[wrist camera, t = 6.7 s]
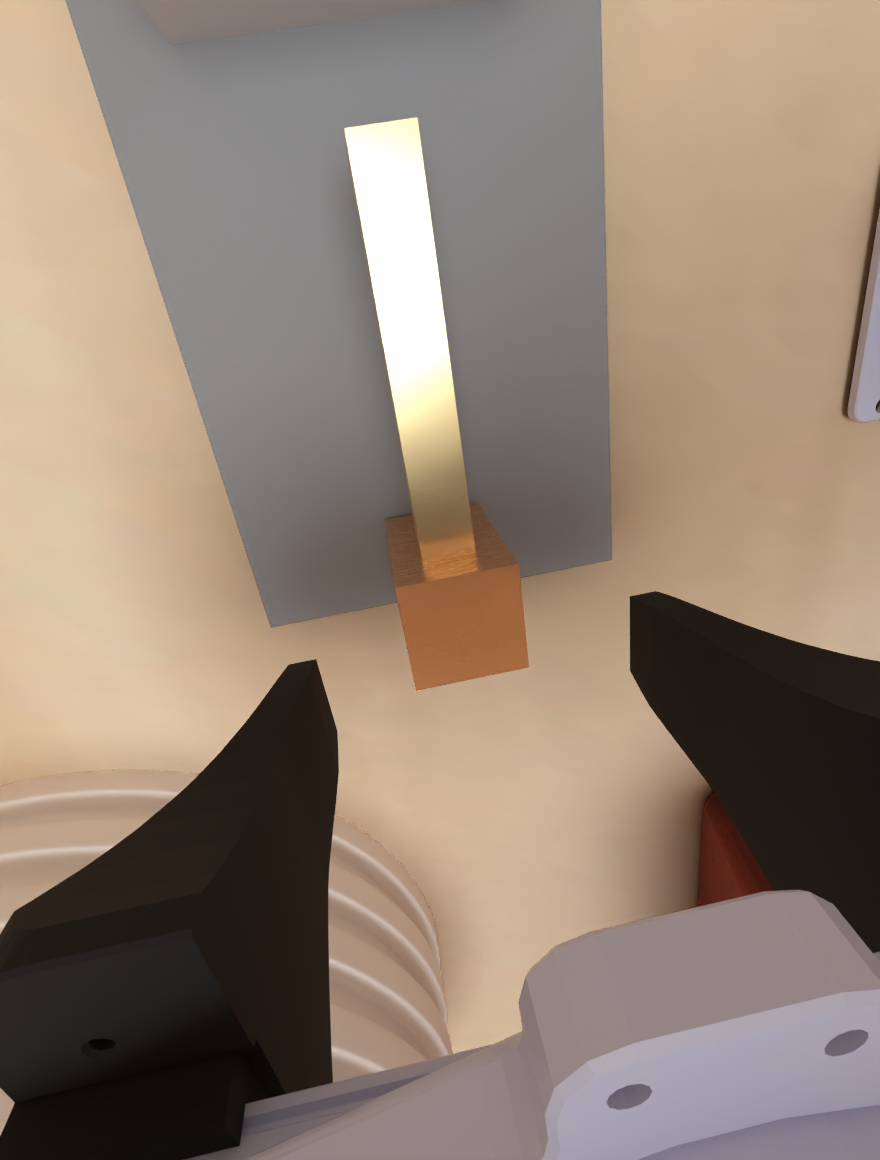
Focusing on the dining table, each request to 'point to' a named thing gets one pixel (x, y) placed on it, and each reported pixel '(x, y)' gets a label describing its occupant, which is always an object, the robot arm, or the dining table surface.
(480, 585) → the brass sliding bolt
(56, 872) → the plate stack
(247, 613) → the dining table surface
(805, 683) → the robot arm
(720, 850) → the plant pot
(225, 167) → the block
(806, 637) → the dining table surface
